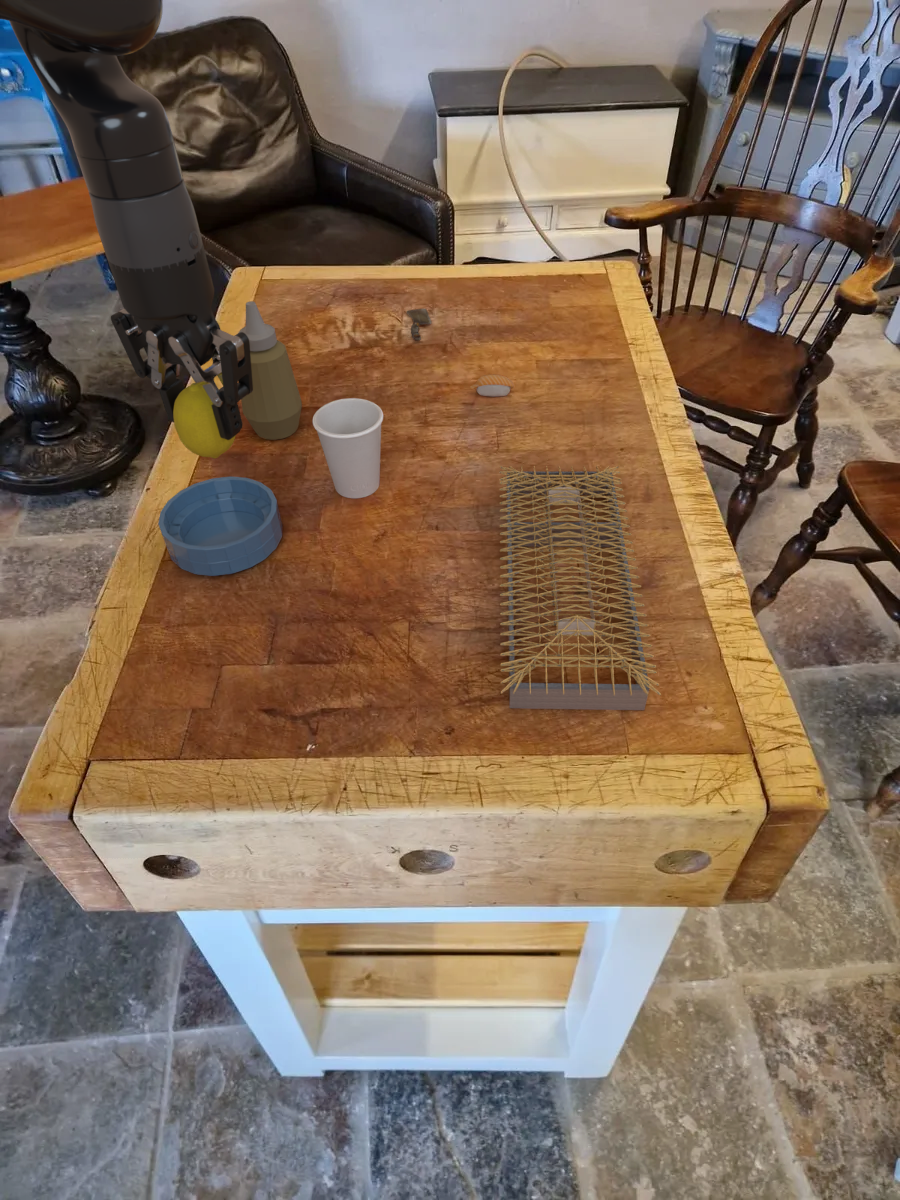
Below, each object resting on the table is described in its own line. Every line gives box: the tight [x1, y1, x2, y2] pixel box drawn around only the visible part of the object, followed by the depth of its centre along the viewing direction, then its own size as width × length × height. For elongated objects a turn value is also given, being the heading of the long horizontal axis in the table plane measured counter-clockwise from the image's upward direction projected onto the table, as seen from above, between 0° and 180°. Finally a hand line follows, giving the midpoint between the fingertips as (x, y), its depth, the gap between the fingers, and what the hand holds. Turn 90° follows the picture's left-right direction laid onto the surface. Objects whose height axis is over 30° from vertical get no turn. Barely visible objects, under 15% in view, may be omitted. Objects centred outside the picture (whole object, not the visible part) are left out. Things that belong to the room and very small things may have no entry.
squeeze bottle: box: [237, 300, 303, 441], centre depth 104 cm, size 8×8×18 cm
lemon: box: [173, 382, 237, 459], centre depth 75 cm, size 6×6×8 cm
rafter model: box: [499, 465, 662, 711], centre depth 85 cm, size 35×14×6 cm, turn 178°
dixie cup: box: [312, 397, 384, 499], centre depth 98 cm, size 8×8×10 cm
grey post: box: [406, 308, 433, 342], centre depth 131 cm, size 12×1×5 cm
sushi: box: [469, 373, 515, 397], centre depth 115 cm, size 3×6×3 cm, turn 88°
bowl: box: [157, 475, 283, 577], centre depth 92 cm, size 13×13×4 cm
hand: (206, 426), depth 75 cm, fingers closed on lemon, 5 cm apart
